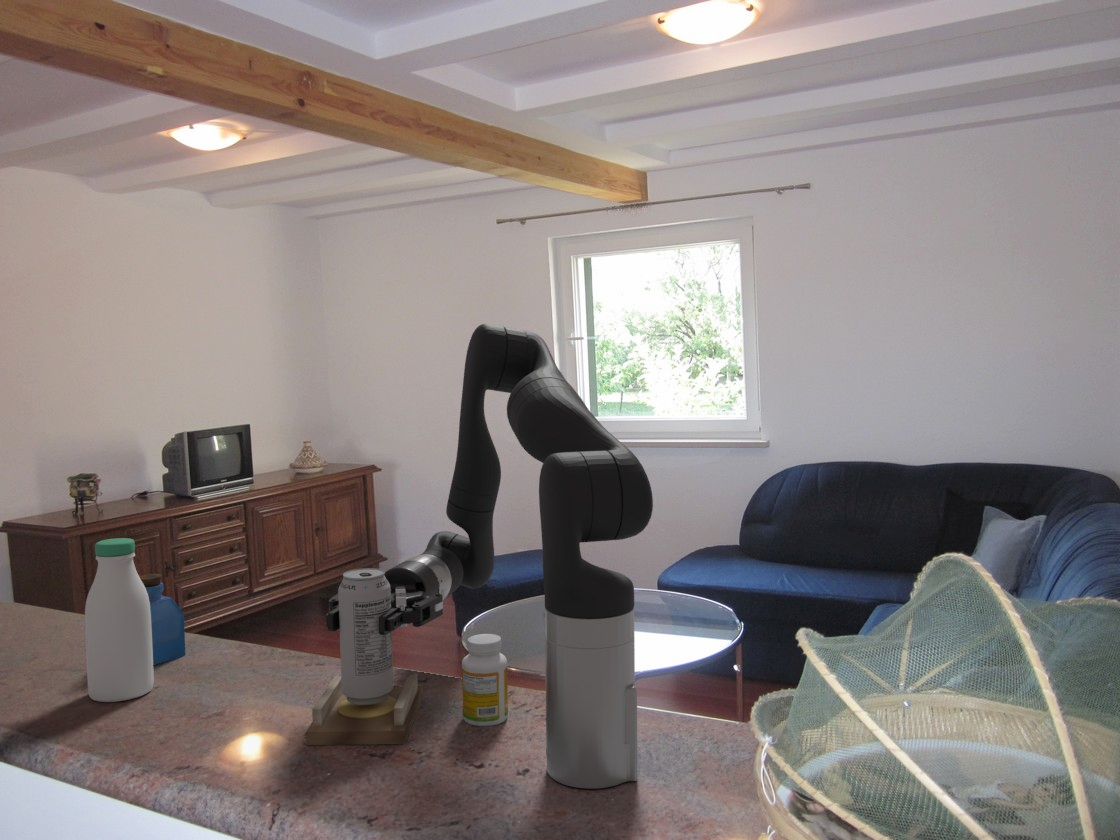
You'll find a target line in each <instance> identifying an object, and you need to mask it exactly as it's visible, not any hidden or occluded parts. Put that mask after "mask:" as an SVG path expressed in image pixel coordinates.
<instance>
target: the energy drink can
mask: <svg viewBox="0 0 1120 840" xmlns="http://www.w3.org/2000/svg"><path fill="white" fill-rule="evenodd" d="M385 572H386V571H385V570H384V569H380V568H373V567H364V568H356V569H351V570H347V571H345V572H343V573H342V577H343V578H342V581H341V582H340V584H339V587H338V590H337V591H338V592H337V594H338V597H339V625H340V628H339V648H340V649H339V650H340V651H339V653H340V675H341V683H342V693H343V695H345V696H346V697H347V701H348V702H350V703H352V704H358V705H368V704H375V703H379V702H381V701H384V700H385V699H387V698H388V697H389V692H390V691H391V690H392V689H393V686H394V667H393V665H394V662H393V659H394V658H393V631H391V632H390V633H388V634H387V635H380V634H379V617H380V616H381V615H383V614H384V613H386V612H388V611H389V610H390V609H391V590H390V584H389V582H388V581H387V579H386V577H385V575H384V574H385Z"/></svg>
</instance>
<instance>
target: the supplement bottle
mask: <svg viewBox="0 0 1120 840" xmlns="http://www.w3.org/2000/svg"><path fill="white" fill-rule="evenodd" d="M501 651H502V638H501V636H500V635H498V634H494V633H479V634H474V635H471V636H469V637H468V638H467V652H468V654H467V655H466V656H465V657H463V659H462V661H461V686H462V687H461V689H462V691H461V692H462V718H463V721H464V722H465V723H467V724H469V725H471V726H476V727H491V726H492V727H493V726H497V725H500V724H501V723H503V722H505V721H506V720H507V719H508V716H509V693H508V690H509V689H508V687H509V685H508V684H509V683H508V681H509V680H508V660H507V658H506V656H505V655H504V654H503V653H501Z"/></svg>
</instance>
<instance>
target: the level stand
mask: <svg viewBox="0 0 1120 840" xmlns="http://www.w3.org/2000/svg"><path fill="white" fill-rule="evenodd" d="M423 688H424V687H423V685H418V674H416V673H415V674H408V676H407V678H406V681H405V683H404V685H393V689H392V690H391V691H390V692H389V697H388V698H387V699H385V700H384V701H381V702H379V703H375V704H368V705H358V704H352V703H350V702H348V701H347V697H346V696H345V695H343V693H342V683H341V674H340V675H334V677H333V678H332V679H331V681H330V683H329V684H328V686H327V687H326V689H324V691H323V693H322V694H321V696H320V697H319V699H318V700H317V702H316V703H315V704H314V706H313V707H312V709H311V713H312V714H311V715H312V716H311V717H312V722H311V723H310V725H309V726H308V727H307V729H306V730H305V745H306V746H333V745H334V746H335V745H337V746H340V745H341V746H342V745H343V746H346V745H347V746H348V745H352V746H353V745H405V744H406V742H407V739H408V737H409V735H410V731H411V728H412V727H413V723H414V721H415V718H416V716H417V713H418V711H419V708H420V705H421V702H422V700H423V696H424V695H423V694H424V692H423V691H424V689H423Z"/></svg>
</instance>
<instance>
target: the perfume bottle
mask: <svg viewBox="0 0 1120 840" xmlns="http://www.w3.org/2000/svg"><path fill="white" fill-rule="evenodd" d="M162 576H163V575H162V573H161V574H160V573H149V574H148V573H147V574H143V575H139V577H140V579H141V581H142V582H143V584H144V586H145V588H146V591H147V593H148V597H149V602H150V612H151V627H152V648H153V665H154V666H157V665H159V664H158V663H160V664H162V662H163V663H166V662H169V661H172V660H176V659H178V658H181V657H185V656H186V637H185V635H186V631H185V615H184V614H185V613H184V612H183V611H182V609H181V608H180V606H179V605H178V604H177V602H176V601H175V600H174V598H172V597H170V596H165V595H162V592H163V591H164V583H163V582H162ZM156 664H157V665H156Z"/></svg>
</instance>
